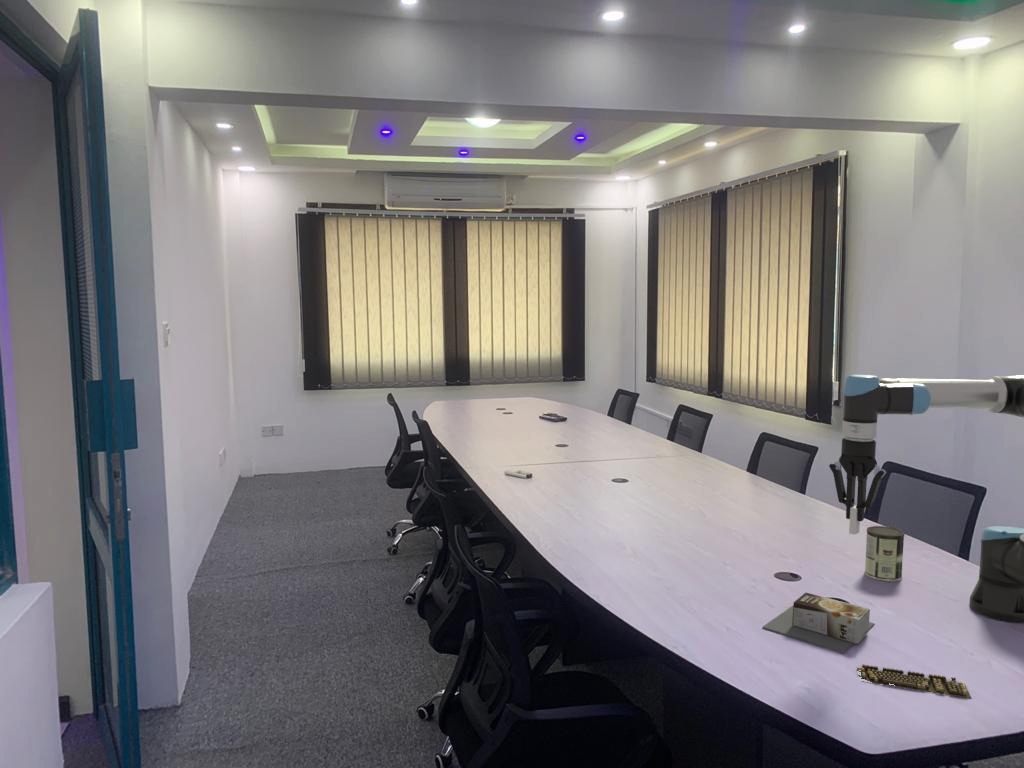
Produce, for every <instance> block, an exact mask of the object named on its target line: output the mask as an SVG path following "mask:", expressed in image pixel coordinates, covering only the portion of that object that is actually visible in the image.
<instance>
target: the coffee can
mask: <svg viewBox="0 0 1024 768" xmlns="http://www.w3.org/2000/svg"><path fill="white" fill-rule="evenodd" d="M904 538H905V532H904V531H902V530H901V529H898V528H896V527H892V526H891V527H890V526H882V525H881V526H879V525H878V526H877V525H874V526H869V527H867V528H866V545H865V546H866V547H865V565H864V566H865V567H864V570H865V571H864V574H865V576H866V577H868V578H871V579H873V580H877V581H880V580H881V582H889V581H891V582H893V581H894V582H900V581H901V580H902V579H903V577H902V575H903V555H904Z"/></svg>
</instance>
